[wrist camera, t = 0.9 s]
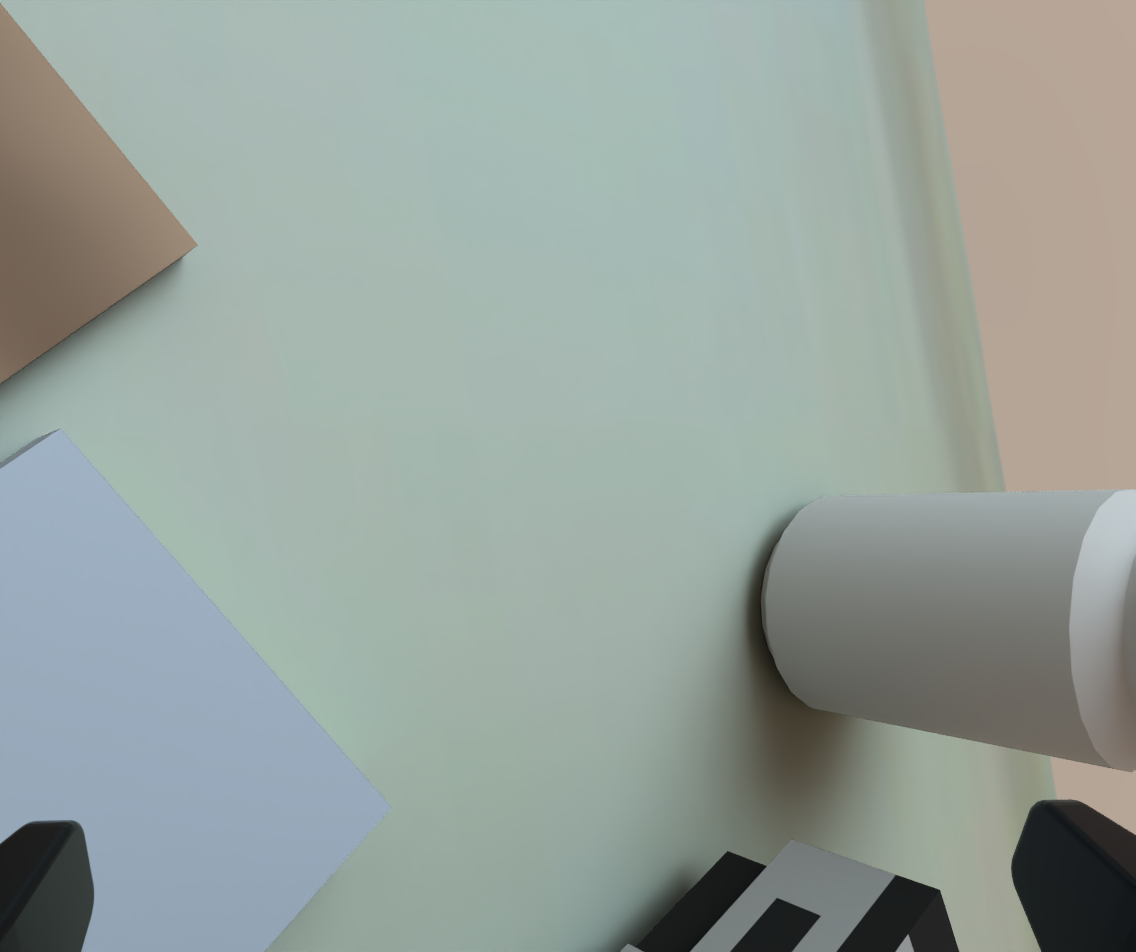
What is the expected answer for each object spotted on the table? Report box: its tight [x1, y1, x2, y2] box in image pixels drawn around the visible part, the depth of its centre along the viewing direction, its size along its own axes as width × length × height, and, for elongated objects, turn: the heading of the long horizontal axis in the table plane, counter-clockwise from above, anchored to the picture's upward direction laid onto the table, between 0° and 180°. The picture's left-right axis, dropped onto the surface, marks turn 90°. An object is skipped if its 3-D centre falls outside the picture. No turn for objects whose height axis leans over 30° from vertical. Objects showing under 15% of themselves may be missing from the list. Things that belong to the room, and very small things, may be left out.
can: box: [761, 489, 1136, 772], centre depth 28 cm, size 8×8×12 cm
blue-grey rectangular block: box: [0, 428, 391, 952], centre depth 17 cm, size 6×10×3 cm, turn 40°
